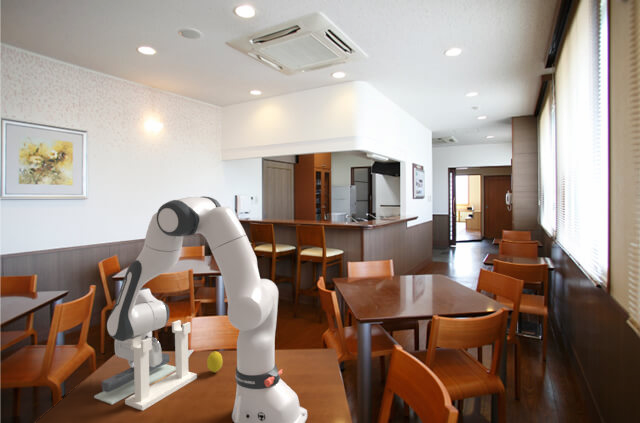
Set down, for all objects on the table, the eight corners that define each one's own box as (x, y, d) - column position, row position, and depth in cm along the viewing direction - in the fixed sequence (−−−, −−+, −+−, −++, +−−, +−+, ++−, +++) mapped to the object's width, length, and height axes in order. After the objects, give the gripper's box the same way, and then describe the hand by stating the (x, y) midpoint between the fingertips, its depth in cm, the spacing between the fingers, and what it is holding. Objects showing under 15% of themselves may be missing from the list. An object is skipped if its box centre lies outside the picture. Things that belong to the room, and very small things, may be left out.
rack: (196, 378, 128) (196, 321, 127) (142, 410, 108) (141, 343, 107) (180, 373, 131) (179, 318, 131) (125, 404, 112) (123, 339, 111)
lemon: (218, 376, 129) (218, 355, 128) (204, 375, 130) (204, 353, 129) (225, 369, 134) (225, 348, 134) (211, 368, 135) (211, 347, 135)
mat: (178, 369, 135) (178, 367, 135) (111, 404, 111) (111, 402, 111) (161, 364, 139) (161, 362, 139) (94, 397, 115) (94, 395, 115)
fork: (194, 355, 152) (194, 349, 153) (184, 373, 132) (184, 365, 132) (187, 356, 152) (187, 349, 152) (176, 374, 132) (176, 366, 132)
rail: (169, 362, 135) (169, 354, 135) (107, 392, 113) (107, 383, 113) (163, 360, 136) (163, 352, 136) (101, 390, 115) (101, 381, 115)
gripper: (166, 336, 123) (167, 375, 123) (127, 326, 132) (127, 363, 132) (150, 342, 117) (151, 383, 117) (110, 332, 126) (111, 370, 126)
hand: (138, 372), depth 125 cm, fingers closed on rail, 3 cm apart
